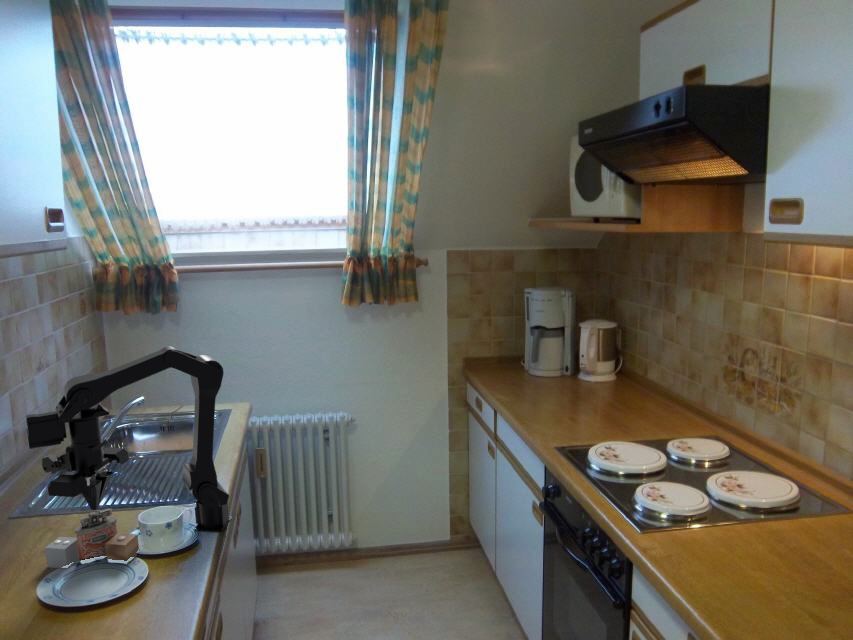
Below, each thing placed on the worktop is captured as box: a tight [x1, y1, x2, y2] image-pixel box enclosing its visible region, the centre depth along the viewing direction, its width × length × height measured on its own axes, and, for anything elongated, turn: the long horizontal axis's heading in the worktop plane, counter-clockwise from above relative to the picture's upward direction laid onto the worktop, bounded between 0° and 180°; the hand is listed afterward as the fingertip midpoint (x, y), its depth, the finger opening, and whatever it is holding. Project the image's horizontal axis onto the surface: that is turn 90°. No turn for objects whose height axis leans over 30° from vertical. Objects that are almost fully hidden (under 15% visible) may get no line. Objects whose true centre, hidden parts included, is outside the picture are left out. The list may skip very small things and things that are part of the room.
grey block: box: [44, 536, 79, 569], centre depth 142 cm, size 4×4×5 cm
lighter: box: [74, 508, 118, 562], centre depth 143 cm, size 8×3×10 cm, turn 129°
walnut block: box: [105, 532, 140, 561], centre depth 143 cm, size 4×4×5 cm
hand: (94, 509), depth 142 cm, fingers closed
